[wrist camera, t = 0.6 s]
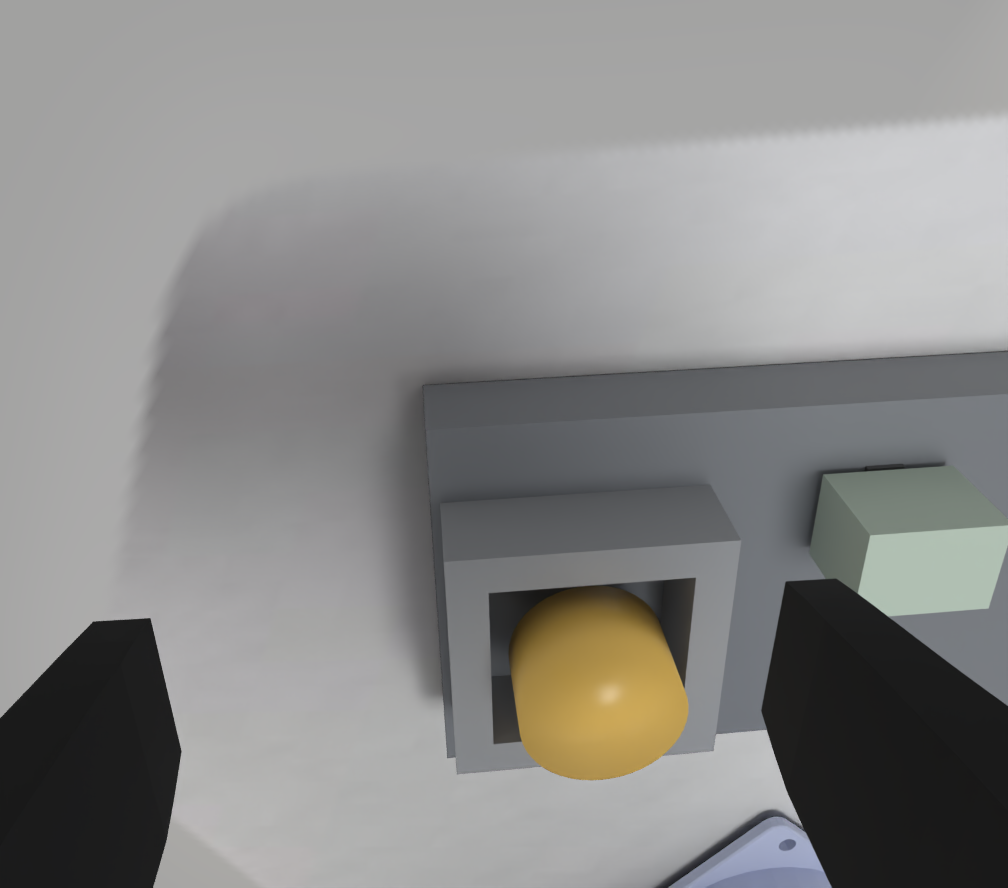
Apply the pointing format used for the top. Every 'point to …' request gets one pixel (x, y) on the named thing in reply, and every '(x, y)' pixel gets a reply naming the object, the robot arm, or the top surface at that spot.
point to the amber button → (595, 684)
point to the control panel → (684, 515)
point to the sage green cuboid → (910, 539)
